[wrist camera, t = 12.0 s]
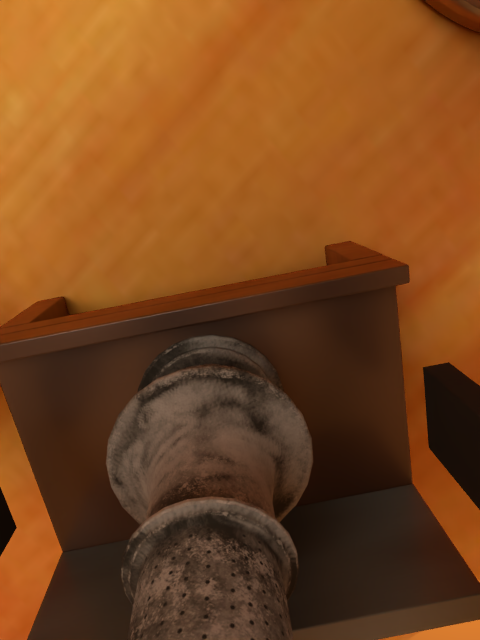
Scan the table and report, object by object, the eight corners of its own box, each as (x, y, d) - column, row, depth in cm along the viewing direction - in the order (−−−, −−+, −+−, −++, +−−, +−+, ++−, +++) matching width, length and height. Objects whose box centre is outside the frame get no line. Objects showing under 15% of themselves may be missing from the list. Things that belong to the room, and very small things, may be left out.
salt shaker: (149, 306, 15) (-40, 688, 4) (314, 350, 16) (574, 775, 5) (112, 456, 17) (-105, 1052, 5) (264, 489, 18) (364, 1068, 6)
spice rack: (350, 240, 20) (477, 292, 10) (372, 437, 23) (487, 618, 13) (37, 301, 20) (-124, 409, 10) (99, 490, 23) (18, 711, 13)
